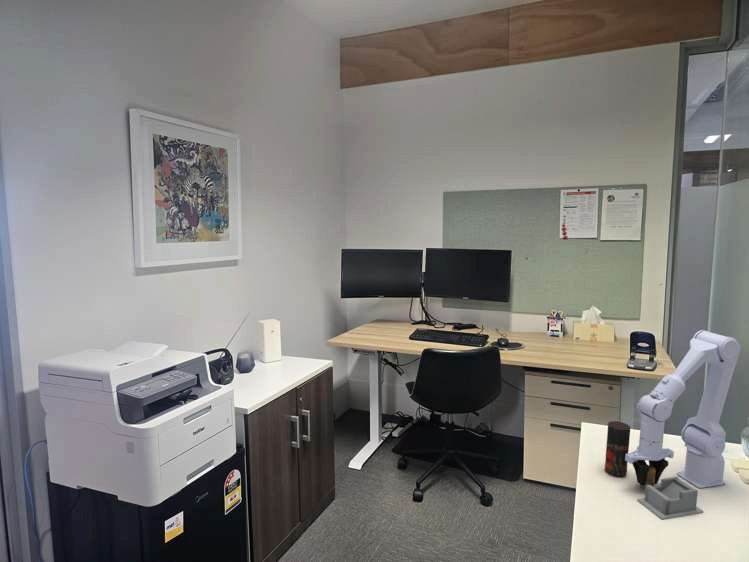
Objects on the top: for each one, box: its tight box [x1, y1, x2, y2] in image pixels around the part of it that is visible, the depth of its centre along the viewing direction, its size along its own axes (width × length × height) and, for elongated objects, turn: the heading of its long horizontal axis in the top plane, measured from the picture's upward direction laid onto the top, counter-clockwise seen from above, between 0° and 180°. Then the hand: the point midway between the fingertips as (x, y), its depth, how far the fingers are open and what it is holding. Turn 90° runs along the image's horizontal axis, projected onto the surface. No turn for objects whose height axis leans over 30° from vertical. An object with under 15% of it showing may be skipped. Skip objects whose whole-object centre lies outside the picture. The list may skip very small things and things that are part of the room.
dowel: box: [639, 464, 656, 491], centre depth 138 cm, size 4×4×6 cm
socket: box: [636, 476, 704, 520], centre depth 129 cm, size 13×8×6 cm, turn 103°
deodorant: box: [604, 420, 631, 479], centre depth 145 cm, size 6×6×15 cm
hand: (647, 482), depth 138 cm, fingers closed on dowel, 4 cm apart
